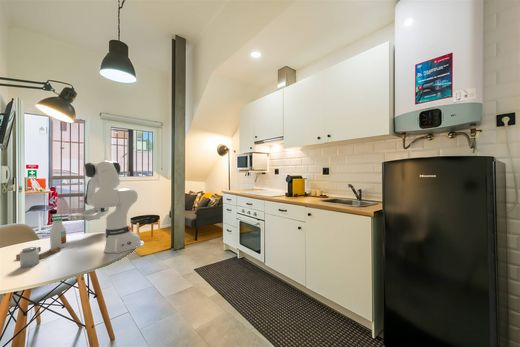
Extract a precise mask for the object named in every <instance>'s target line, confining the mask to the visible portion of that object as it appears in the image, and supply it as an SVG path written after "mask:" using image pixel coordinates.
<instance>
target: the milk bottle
mask: <svg viewBox="0 0 520 347" xmlns="http://www.w3.org/2000/svg"><path fill="white" fill-rule="evenodd" d="M52 222H53V223H52V225H51V228H50V230H49V238H50V239H49V241H50V250H52V249H55V248H57V247H60V249H62V248H65V247H66V246H67V233H66V226H65V225H64V224H63V217H60V216H59V217H53V218H52Z"/></svg>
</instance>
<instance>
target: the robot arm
mask: <svg viewBox="0 0 520 347" xmlns="http://www.w3.org/2000/svg"><path fill="white" fill-rule="evenodd" d="M82 171H83V174H84V175H85V176H86V177H87V178H90V179H89V180H88V182H87V184H86V193H85V196H84V199H83V202H84V204H85V205H87V206H92V207H93V208H89V209H86V210H84V211H83V213H82V212H81V213H80V212H75V213H72V214H68V215H67V220H69V221H88V222H90V221H95V220H97V221H98V220H101V218H103V217H105V216H106V218H105V220H106V221H105V225H106V228H105V232H104V233H105V238H106V239H105V244H104V245H105V246H104V250H103V251H104V253H106V254H107V253H109V254H111V253H112V254H113V253H115V254H120V253H124V252H127V251H131V250H134V249H138V248H142V247H143V246H145V242H144V240H141V237H140V235H139V234H138V233H135V232H133V231H132V230H133V228H132V227H131V226H129V225H127V224H128V222H127V220H128V212H129V210H130V208H131V207H132V206H133V204H135V203H136V202H137V201H138V196H139V195H138V192H137V191H136V190H135V189H131V188H119V189H116V188H117V187H119V185H120V183H121V179H120V177H119V174H120V173H121V164H120V162H118V161H116V160H115V161H114V160H111V161H108V160H102V161H95V162H94V161H93V162H87V163H85V164H84V165H83V167H82ZM97 188H98V190H97ZM96 190H97V191H96ZM113 207H115V209H114V210H113V211H112V212H110V208H113ZM136 246H137V247H136Z"/></svg>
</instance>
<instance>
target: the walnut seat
mask: <svg viewBox="0 0 520 347" xmlns="http://www.w3.org/2000/svg"><path fill="white" fill-rule="evenodd" d="M37 248H38V249H39V252H41V250H42V249H41V248H42V247H41V246H39V247H37ZM60 251H61V248H60V247H57V248H55V249H50V250H47V251H44V252H41V253H39V260H41V259H43V258H46V257H49V256H51V255H53V254H56V253H58V252H60ZM15 259H16V260H20V253H18V254H15Z"/></svg>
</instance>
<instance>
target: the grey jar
mask: <svg viewBox="0 0 520 347" xmlns="http://www.w3.org/2000/svg"><path fill="white" fill-rule="evenodd" d="M19 254H20V259H19V264H20V265H19V267H20V269H29V268H31V267H32V268H33V267H35V266H37V265H39V264H40V259H39V254H40V251H39V249H38V247H36V246H30V247H26V248H23V249H22V250H21V251H20V252H19Z"/></svg>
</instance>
